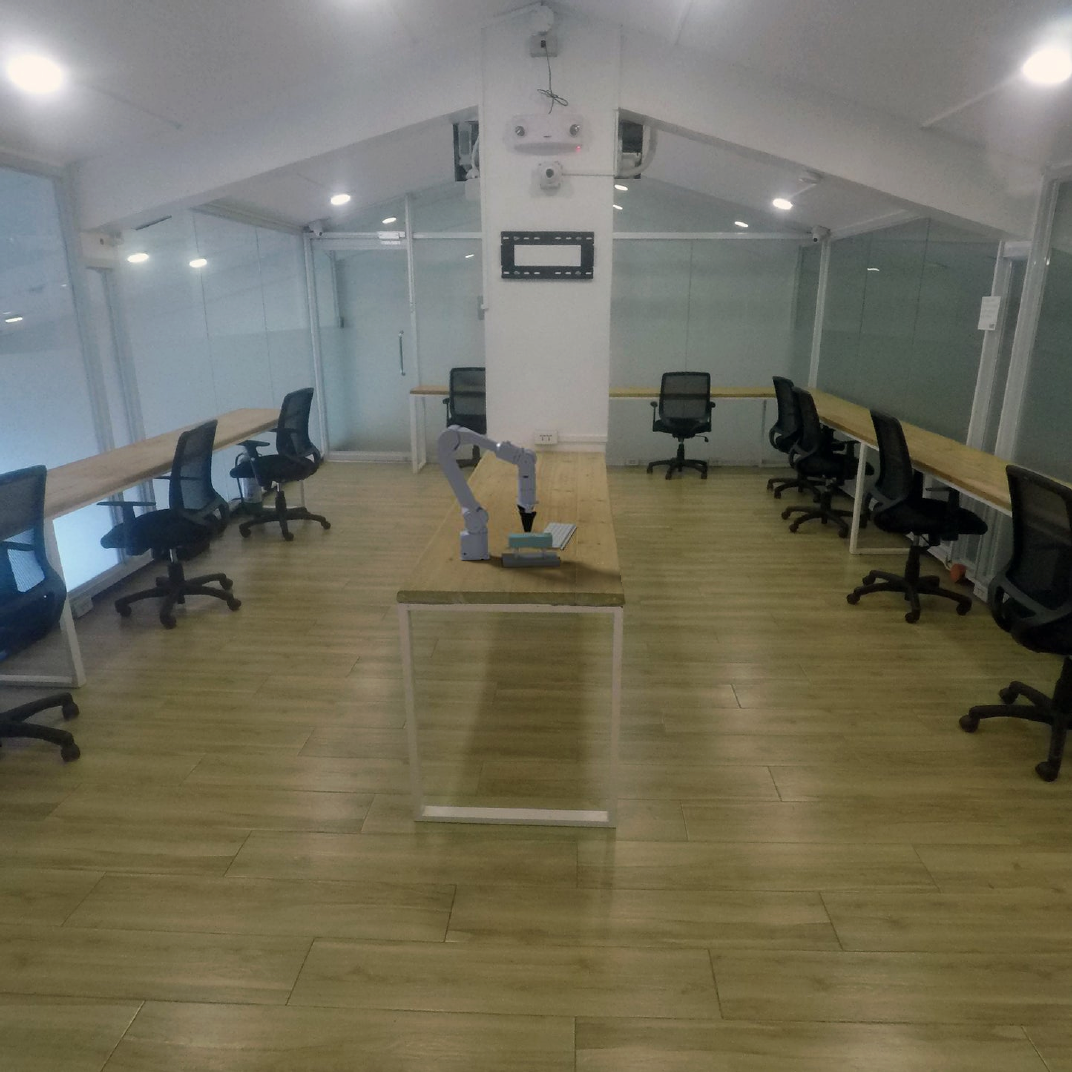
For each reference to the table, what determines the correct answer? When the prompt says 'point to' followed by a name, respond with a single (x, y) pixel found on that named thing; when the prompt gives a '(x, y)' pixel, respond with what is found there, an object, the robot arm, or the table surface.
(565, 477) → the table surface
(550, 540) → the teal rectangular block
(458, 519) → the table surface
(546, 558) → the peg stand
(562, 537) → the white ridged flat slab
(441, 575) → the table surface
